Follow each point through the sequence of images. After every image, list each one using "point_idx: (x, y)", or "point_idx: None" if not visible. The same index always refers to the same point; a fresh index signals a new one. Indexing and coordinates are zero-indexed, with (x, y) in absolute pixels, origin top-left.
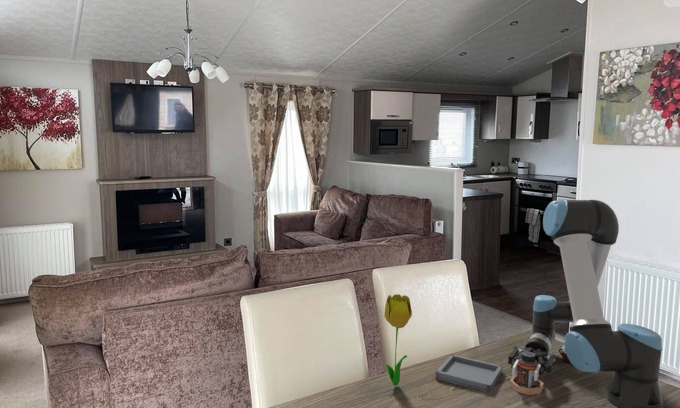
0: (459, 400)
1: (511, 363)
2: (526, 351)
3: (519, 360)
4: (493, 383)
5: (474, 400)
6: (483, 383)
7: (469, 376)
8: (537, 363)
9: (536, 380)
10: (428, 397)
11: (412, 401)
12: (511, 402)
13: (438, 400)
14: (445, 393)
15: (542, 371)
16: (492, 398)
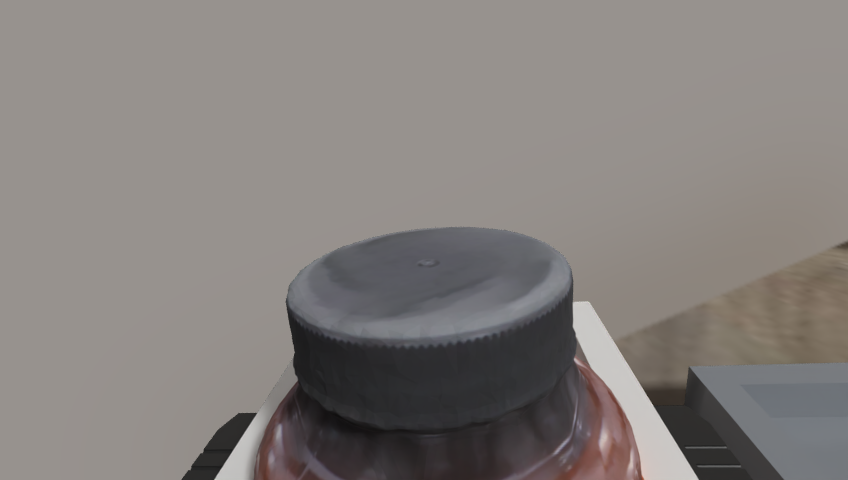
0: (727, 307)
1: (708, 425)
2: (499, 307)
3: (579, 360)
4: (743, 461)
5: (677, 330)
6: (752, 367)
7: None
8: (265, 432)
9: None
10: (840, 279)
11: (835, 252)
12: None
13: (785, 281)
14: (844, 319)
15: (231, 426)
16: None
